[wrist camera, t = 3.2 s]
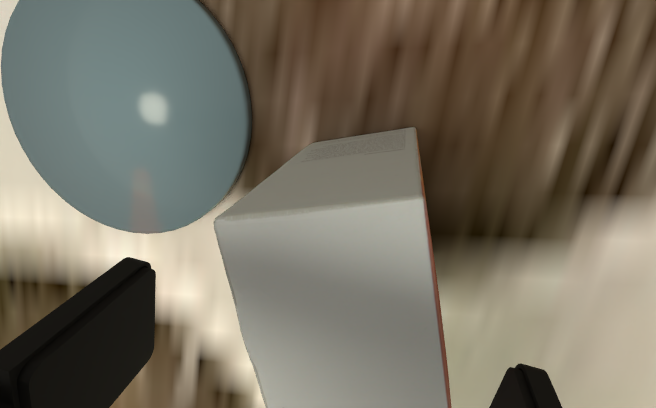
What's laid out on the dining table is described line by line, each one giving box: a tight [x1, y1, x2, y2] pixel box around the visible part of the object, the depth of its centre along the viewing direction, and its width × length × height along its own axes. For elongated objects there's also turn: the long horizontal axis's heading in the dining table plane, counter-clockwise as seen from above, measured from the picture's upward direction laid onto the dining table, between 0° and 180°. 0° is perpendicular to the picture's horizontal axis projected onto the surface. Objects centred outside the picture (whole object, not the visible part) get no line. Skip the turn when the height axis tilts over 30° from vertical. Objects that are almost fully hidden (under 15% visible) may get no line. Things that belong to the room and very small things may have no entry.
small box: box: [214, 127, 451, 408], centre depth 18 cm, size 8×6×13 cm
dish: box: [1, 0, 252, 234], centre depth 25 cm, size 16×16×1 cm
